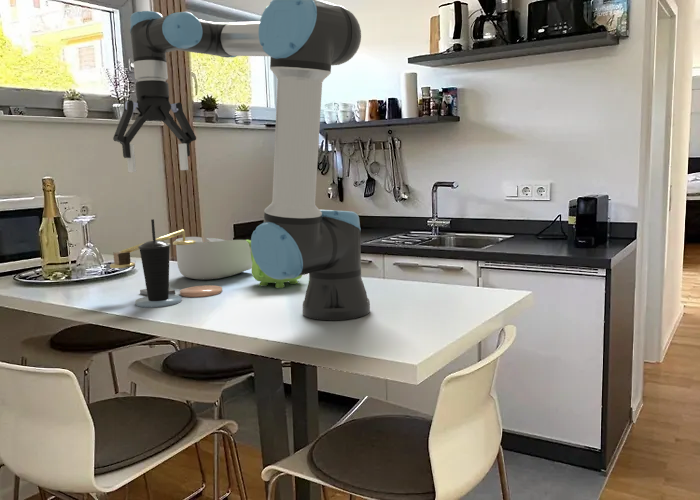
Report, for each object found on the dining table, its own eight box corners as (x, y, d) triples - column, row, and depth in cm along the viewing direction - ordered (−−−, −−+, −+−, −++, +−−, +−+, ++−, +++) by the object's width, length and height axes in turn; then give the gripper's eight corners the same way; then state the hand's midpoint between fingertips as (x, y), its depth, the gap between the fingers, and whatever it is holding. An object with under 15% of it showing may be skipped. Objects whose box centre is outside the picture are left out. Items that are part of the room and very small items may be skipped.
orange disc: (230, 291, 166) (230, 288, 166) (193, 299, 159) (192, 296, 158) (208, 286, 174) (208, 283, 174) (172, 293, 167) (172, 290, 166)
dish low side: (189, 301, 156) (189, 298, 156) (148, 309, 148) (147, 306, 148) (169, 295, 164) (168, 292, 164) (128, 302, 156) (128, 299, 156)
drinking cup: (165, 303, 151) (159, 221, 149) (136, 302, 153) (129, 221, 150) (179, 296, 159) (174, 217, 156) (152, 295, 160) (146, 218, 158)
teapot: (245, 291, 167) (242, 244, 165) (248, 280, 181) (245, 237, 179) (305, 288, 168) (303, 241, 166) (304, 278, 182) (302, 235, 180)
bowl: (164, 279, 188) (161, 240, 186) (211, 269, 203) (209, 232, 202) (211, 285, 177) (208, 243, 175) (257, 273, 192) (255, 235, 191)
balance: (204, 288, 171) (200, 229, 169) (120, 304, 156) (114, 238, 153) (190, 284, 177) (186, 227, 175) (107, 299, 161) (102, 236, 159)
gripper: (190, 86, 160) (196, 169, 163) (92, 80, 143) (101, 173, 146) (206, 82, 154) (212, 169, 157) (106, 75, 137) (115, 172, 140)
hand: (159, 171), depth 151 cm, fingers open, 13 cm apart
